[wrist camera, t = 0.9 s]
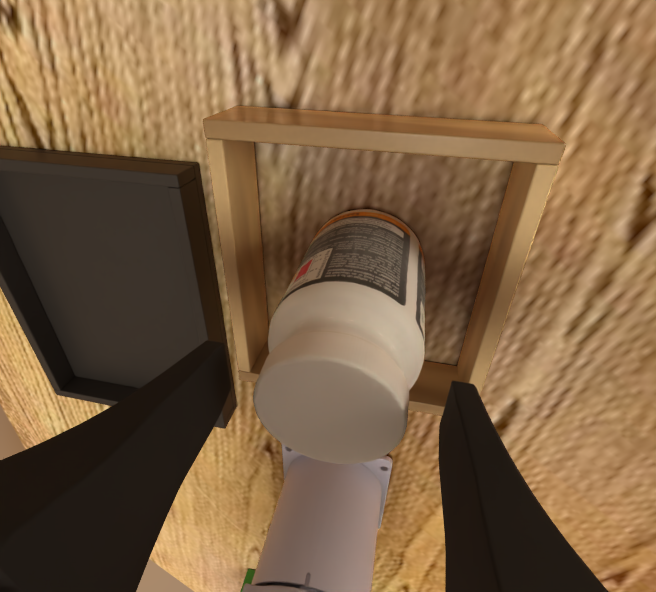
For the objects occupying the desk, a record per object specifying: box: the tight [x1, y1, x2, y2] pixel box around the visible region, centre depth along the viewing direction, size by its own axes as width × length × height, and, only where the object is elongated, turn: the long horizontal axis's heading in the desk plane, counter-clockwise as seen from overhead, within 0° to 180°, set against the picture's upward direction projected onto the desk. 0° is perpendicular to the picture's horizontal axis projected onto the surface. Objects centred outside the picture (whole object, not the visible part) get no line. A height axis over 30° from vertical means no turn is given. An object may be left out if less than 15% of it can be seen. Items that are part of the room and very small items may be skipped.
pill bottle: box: [253, 209, 425, 464], centre depth 16 cm, size 6×6×10 cm
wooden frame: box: [203, 106, 566, 416], centre depth 18 cm, size 13×12×3 cm
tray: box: [0, 146, 237, 429], centre depth 24 cm, size 17×13×2 cm
